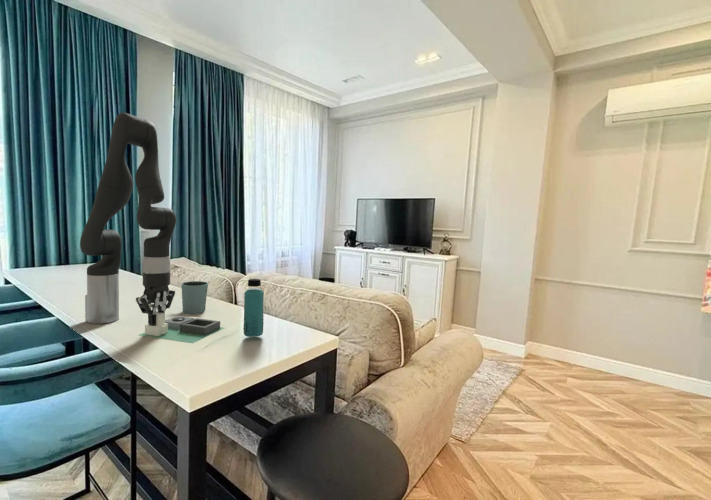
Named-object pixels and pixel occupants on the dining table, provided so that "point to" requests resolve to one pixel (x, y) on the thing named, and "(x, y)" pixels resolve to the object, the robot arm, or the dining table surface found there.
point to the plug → (157, 326)
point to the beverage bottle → (253, 309)
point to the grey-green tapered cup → (194, 296)
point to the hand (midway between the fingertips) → (156, 323)
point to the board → (188, 329)
